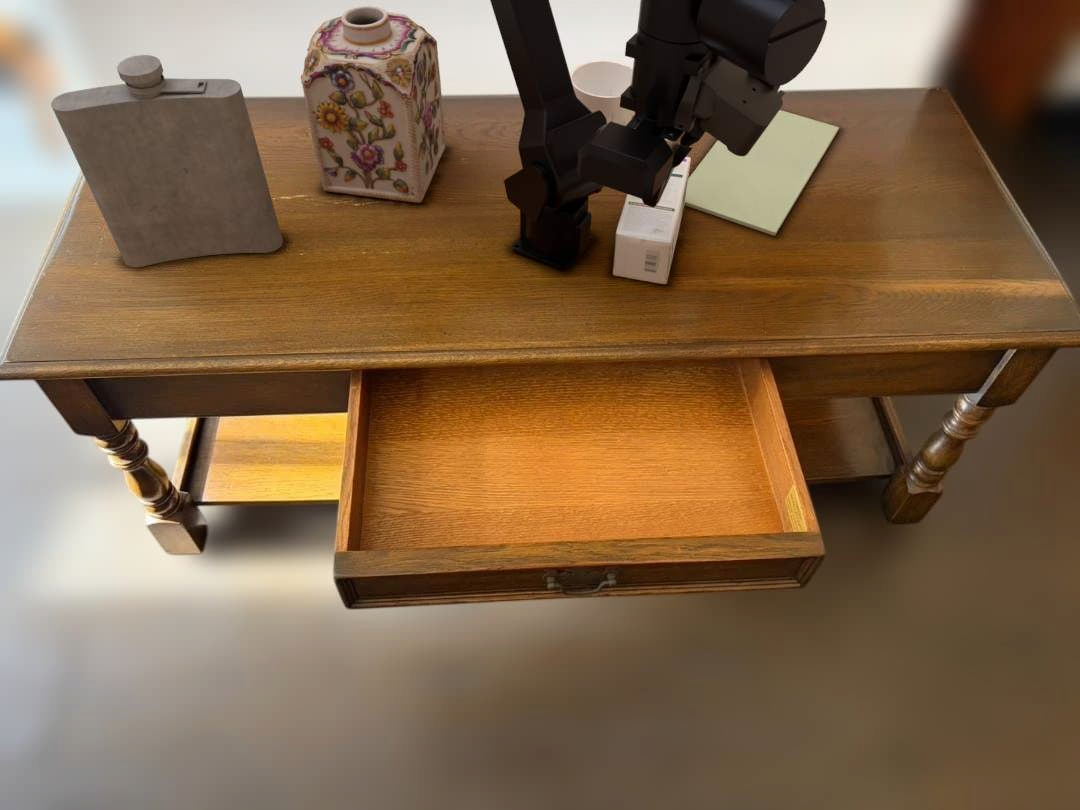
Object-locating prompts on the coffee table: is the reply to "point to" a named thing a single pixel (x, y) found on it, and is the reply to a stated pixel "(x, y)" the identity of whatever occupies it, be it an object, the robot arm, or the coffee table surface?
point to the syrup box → (651, 231)
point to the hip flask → (171, 164)
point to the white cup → (603, 88)
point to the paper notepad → (761, 173)
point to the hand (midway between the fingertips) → (650, 203)
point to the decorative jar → (374, 104)
